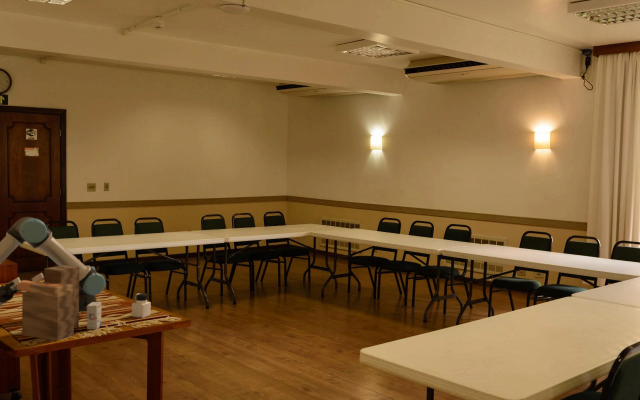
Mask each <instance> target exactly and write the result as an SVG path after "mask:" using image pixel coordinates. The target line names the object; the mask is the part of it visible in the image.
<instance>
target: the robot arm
mask: <svg viewBox="0 0 640 400" xmlns="http://www.w3.org/2000/svg"><path fill="white" fill-rule="evenodd" d="M25 242H26V243H27V244H28V245H30V247H32V248H33V249H35V250H36V249H39V250H40V251H42V252H43V253H44V254H45V255H46V256H48V258H49V259H50V260H52V262H54V263H55V264H57V266H61V265H67V266H76V267H79V312H85V311H86V312H87V306H88V305H89V304H90V303H91V302H98V299H97V296H96V295H99V294H101V293H102V292H103V291H104V289H105V288H106V282H107V281H106V279H105V277H104V276H103V275H102V274H100V273H99V272H98V271H96V267H95V266H90V265H85V264H84V263H83V262H81V260H79V259H78V258H77V256H75V255H74V254H72V253H71V252H70V251H69V249H67V248H66V247H65V246H64V245H63V244H61V242H60V241H59V240H57V239H56V238H55V237H53V232H52V231H51V230H50V229H49V227H47V226H46V224H45V222H44V221H42V220H41V219H39V218H35V217H31V216H24V217H20V218H19V219H18V220H16V221H15V223H14V224H12V226H11V227H10V228H9V229H8V230H7V231H6V233H5V237H3V238H2V240H1V241H0V265H1V264H2V263H3V262H4V261H5V260H6V259H7V258H8V257H9V256H10V255H11V254H12V253H13V252H14V250H16V249H17V248H18V246H22V245H23V244H24V243H25ZM42 280H44V273H42V272H40V273H39V274H37V275H35V276H33V277H31V279H29V280H28V281H34V282H41V281H42ZM21 281H22V280H21V279H20V277H16V278H15V279H13V280H11V281H10V282H7V283H5V284H1V286H0V307H3V305H4V304H6V303H8V302H10V301H11V300H12V299H13V298H14V295H15V294H17V293H22V291H21V290H17V285H18V284H19V283H21Z"/></svg>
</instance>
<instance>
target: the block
mask: <svg viewBox="0 0 640 400" xmlns="http://www.w3.org/2000/svg"><path fill="white" fill-rule="evenodd" d="M20 281H21V283H19V284H18V285H17V290H21V292H27V291H29V292H30V285H31V284H35V285H43V286H50V287H61V286H64V285H58V284H50V283H43V281H38V282H34V281H29V280H27V279H26V280H25V279H23V280H20Z"/></svg>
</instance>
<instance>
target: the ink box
mask: <svg viewBox="0 0 640 400" xmlns="http://www.w3.org/2000/svg"><path fill="white" fill-rule="evenodd" d="M101 326H102V301H97V302H91V303H90V304H89V305H88V306H87V311H86V330H98V329H99V328H100V327H101Z"/></svg>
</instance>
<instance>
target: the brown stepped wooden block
mask: <svg viewBox="0 0 640 400" xmlns="http://www.w3.org/2000/svg"><path fill="white" fill-rule="evenodd" d="M43 270H44V273H43V277H44V278H43V281H42V283H50V284H58V285H64V286H61V287H50V286H43V285H35V284H31V285H30V292H29V291H22V292H21V296H22V297H21V298H22V299H21V301H22V302H21V303H22V304H21V307H22V313H21V315H22V316H21V317H22V319H21V321H22V322H21V328H22V329H21V330H22V332H21V335H22V336H25V337H30V338H31V337H33V338H38V339H45V340H49V341H56V342H58V341H59V342H60V341H62V340H65V339H67V338H70V337H74V330H75V329H78V328H79V326H80V325H79V323H80V321H79V320H80V319H79V318H80V311H79V267H76V266H67V265H61V266H59V265H55V266H50V267H46V268H44V269H43ZM77 327H78V328H77ZM74 328H75V329H74Z"/></svg>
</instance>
